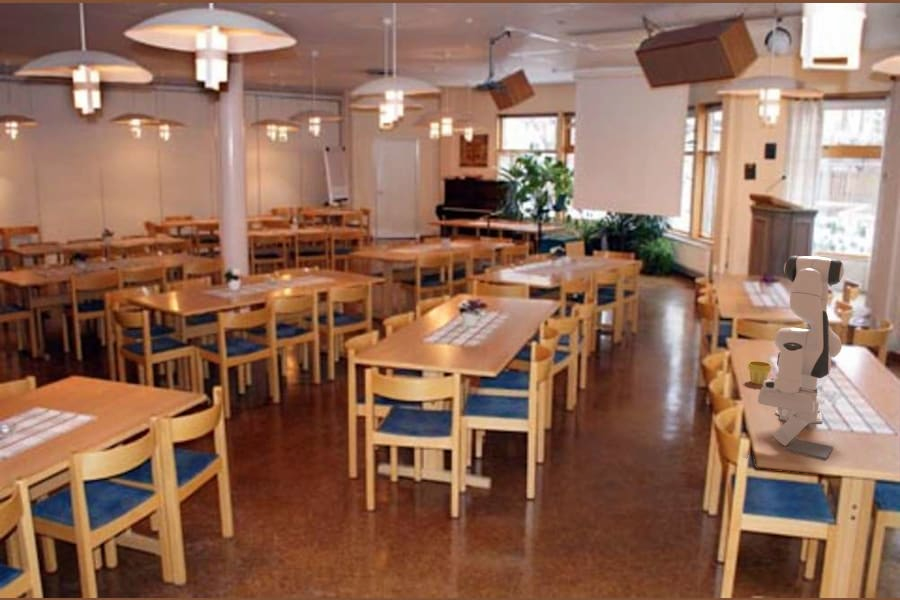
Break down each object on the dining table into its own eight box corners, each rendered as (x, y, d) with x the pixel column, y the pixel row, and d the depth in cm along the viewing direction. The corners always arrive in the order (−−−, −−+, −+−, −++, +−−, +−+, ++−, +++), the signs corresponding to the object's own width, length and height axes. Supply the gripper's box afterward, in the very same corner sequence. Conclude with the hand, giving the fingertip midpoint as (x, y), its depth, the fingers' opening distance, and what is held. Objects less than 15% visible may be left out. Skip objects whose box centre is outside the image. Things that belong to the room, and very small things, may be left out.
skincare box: (787, 443, 305) (809, 423, 299) (784, 447, 302) (806, 426, 296) (775, 432, 308) (796, 412, 302) (771, 435, 304) (792, 414, 298)
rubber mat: (794, 440, 309) (794, 438, 309) (832, 449, 301) (833, 446, 301) (786, 451, 298) (786, 448, 298) (826, 460, 290) (826, 457, 290)
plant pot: (755, 378, 394) (757, 359, 392) (773, 383, 385) (775, 364, 383) (742, 381, 389) (744, 362, 387) (759, 386, 380) (761, 367, 378)
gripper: (819, 388, 297) (814, 423, 299) (762, 378, 308) (759, 412, 311) (815, 392, 292) (811, 427, 294) (758, 381, 303) (754, 415, 306)
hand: (783, 419), depth 303 cm, fingers closed
